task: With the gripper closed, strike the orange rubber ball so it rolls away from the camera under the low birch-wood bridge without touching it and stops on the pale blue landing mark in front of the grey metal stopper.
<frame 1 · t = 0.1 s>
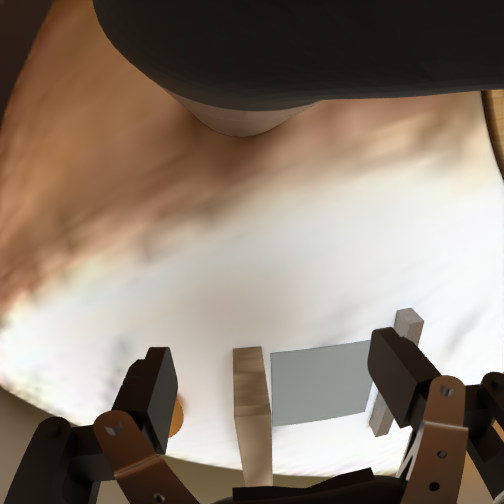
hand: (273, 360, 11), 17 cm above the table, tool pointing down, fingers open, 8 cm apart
ball: (158, 415, 31), on the table
bridge: (251, 395, 34), on the table
landing mark: (324, 387, 34), on the table
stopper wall: (389, 374, 35), on the table
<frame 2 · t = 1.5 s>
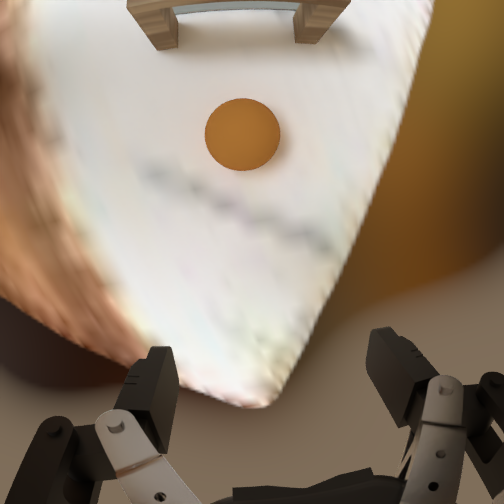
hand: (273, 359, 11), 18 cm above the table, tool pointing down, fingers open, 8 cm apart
ball: (242, 134, 23), on the table
bridge: (236, 29, 23), on the table
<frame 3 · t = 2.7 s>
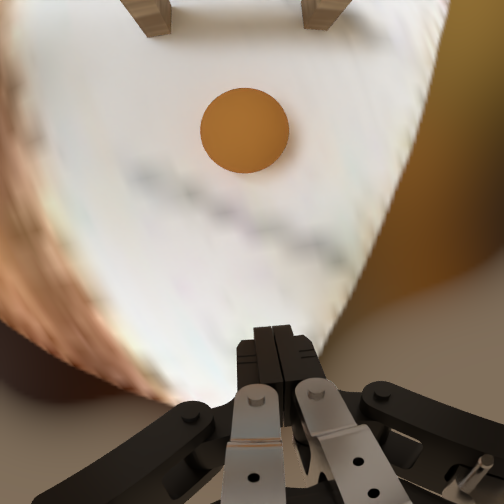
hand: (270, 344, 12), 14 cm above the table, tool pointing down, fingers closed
ball: (244, 130, 20), on the table
bridge: (237, 13, 19), on the table
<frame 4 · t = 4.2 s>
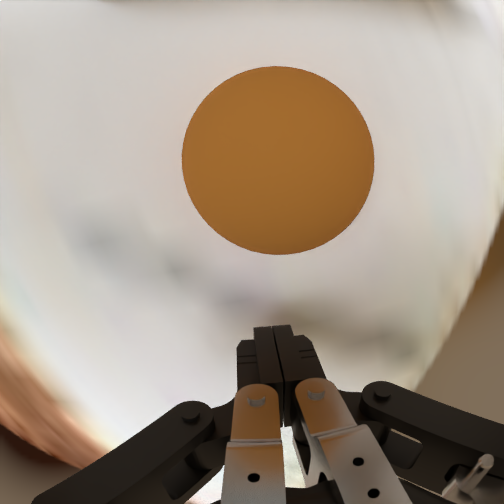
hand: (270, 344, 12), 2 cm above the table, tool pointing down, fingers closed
ball: (278, 159, 9), on the table
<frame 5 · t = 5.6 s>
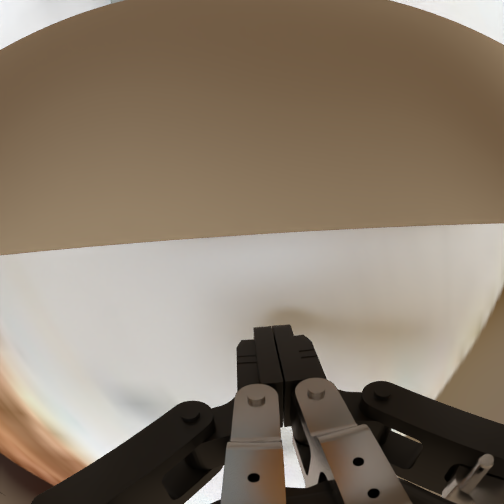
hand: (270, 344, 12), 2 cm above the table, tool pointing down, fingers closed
bridge: (257, 143, 12), on the table
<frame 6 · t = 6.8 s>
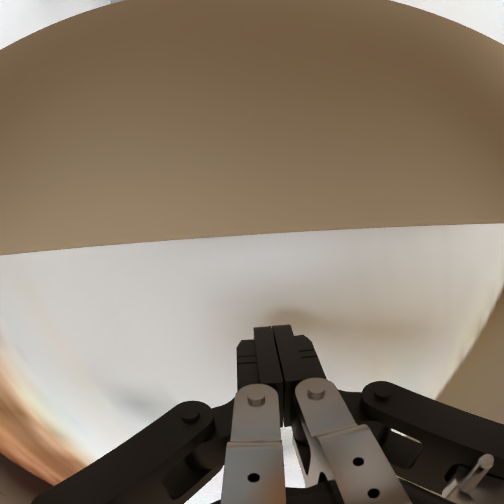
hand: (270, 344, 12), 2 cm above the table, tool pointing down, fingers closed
bridge: (257, 143, 12), on the table
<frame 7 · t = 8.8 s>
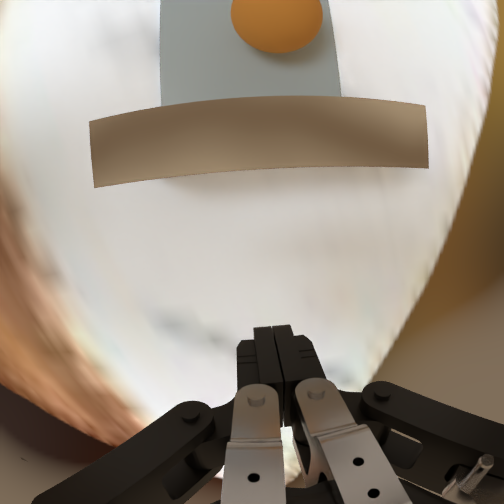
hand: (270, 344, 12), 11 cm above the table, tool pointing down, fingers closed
ball: (276, 13, 15), on the table
bridge: (255, 144, 21), on the table
landing mark: (247, 31, 18), on the table
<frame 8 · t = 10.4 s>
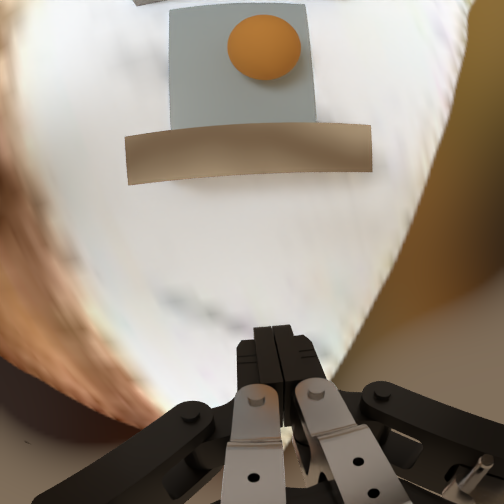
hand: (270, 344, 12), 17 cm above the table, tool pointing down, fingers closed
ball: (264, 47, 21), on the table
bridge: (245, 153, 26), on the table
landing mark: (240, 59, 24), on the table
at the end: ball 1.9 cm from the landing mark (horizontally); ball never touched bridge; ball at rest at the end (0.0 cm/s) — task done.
